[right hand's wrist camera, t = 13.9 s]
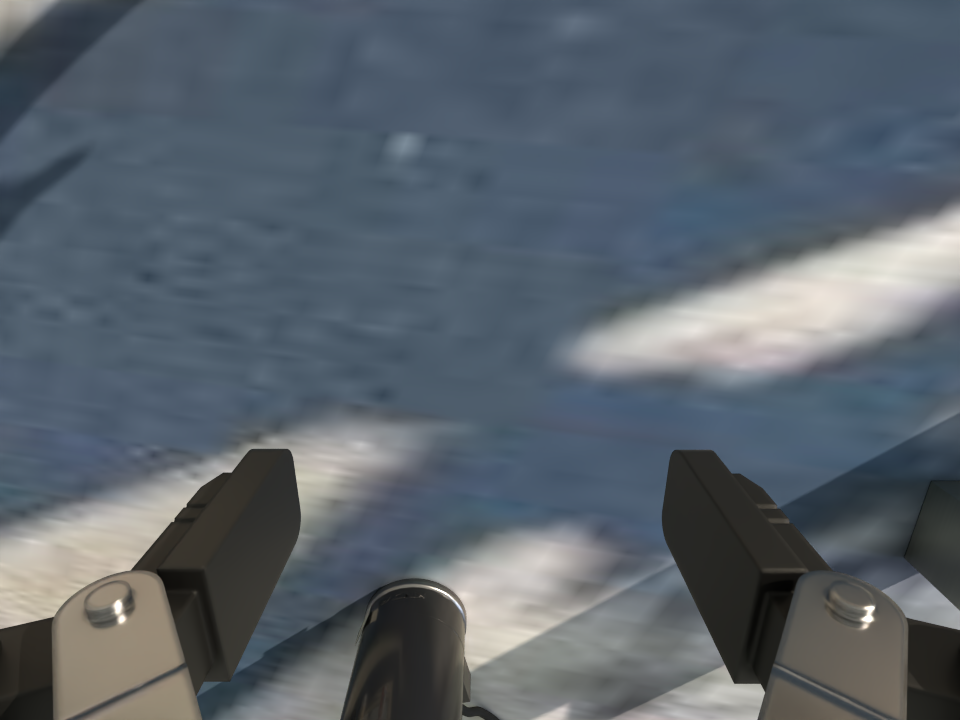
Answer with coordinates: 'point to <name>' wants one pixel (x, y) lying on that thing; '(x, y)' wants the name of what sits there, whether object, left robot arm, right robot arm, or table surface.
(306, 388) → the table surface
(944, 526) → the block
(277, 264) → the table surface
